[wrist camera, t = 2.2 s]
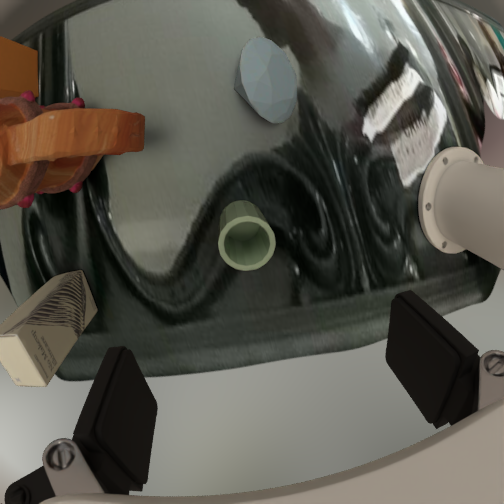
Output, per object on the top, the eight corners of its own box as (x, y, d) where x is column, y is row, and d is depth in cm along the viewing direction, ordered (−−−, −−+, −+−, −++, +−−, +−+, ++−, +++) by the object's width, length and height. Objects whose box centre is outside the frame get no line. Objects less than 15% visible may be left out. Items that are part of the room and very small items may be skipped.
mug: (37, 191, 24) (-69, 233, 10) (37, 112, 21) (-72, 107, 7) (170, 184, 25) (110, 229, 11) (173, 95, 23) (118, 36, 9)
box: (99, 310, 29) (50, 391, 17) (69, 315, 29) (17, 389, 17) (82, 265, 27) (16, 334, 15) (51, 273, 27) (-16, 337, 15)
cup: (260, 196, 26) (271, 211, 20) (266, 239, 28) (278, 265, 22) (215, 204, 26) (213, 221, 20) (223, 246, 28) (224, 274, 22)
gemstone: (199, 122, 21) (251, 111, 18) (203, 39, 19) (251, 18, 16) (260, 135, 27) (307, 130, 24) (260, 64, 25) (304, 53, 22)
